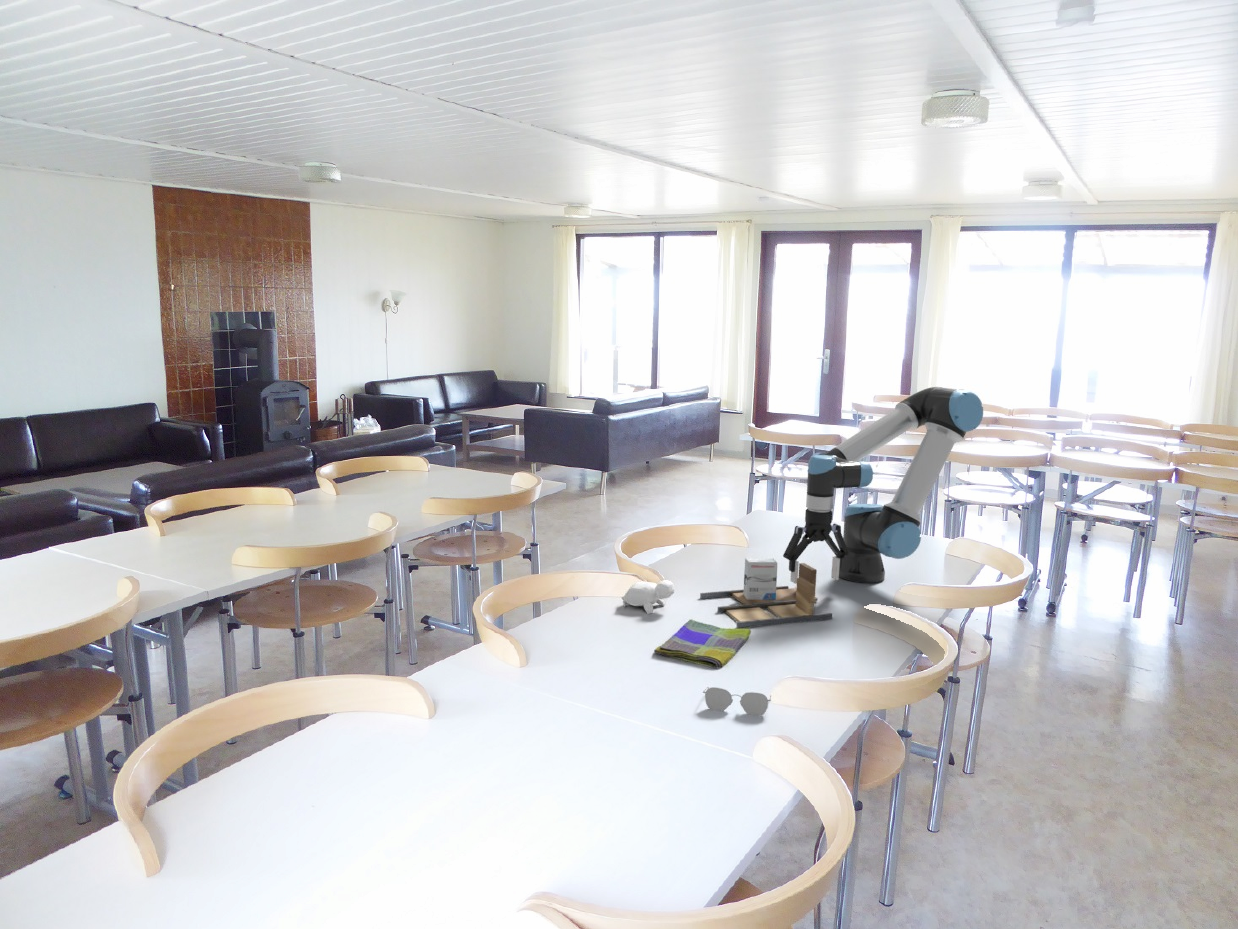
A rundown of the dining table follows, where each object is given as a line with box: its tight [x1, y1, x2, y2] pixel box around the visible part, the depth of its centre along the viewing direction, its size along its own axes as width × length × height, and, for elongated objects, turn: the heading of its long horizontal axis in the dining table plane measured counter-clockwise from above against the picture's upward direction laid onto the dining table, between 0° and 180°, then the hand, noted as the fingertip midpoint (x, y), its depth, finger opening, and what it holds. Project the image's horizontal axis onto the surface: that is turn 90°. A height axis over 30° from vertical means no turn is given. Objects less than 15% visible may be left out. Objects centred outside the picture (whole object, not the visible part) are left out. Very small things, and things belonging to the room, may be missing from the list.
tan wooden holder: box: [731, 562, 818, 605], centre depth 242 cm, size 22×10×9 cm, turn 108°
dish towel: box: [653, 618, 752, 669], centre depth 208 cm, size 18×24×3 cm
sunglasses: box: [702, 686, 772, 717], centre depth 177 cm, size 14×8×5 cm, turn 76°
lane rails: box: [699, 585, 833, 629], centre depth 235 cm, size 28×25×2 cm
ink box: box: [743, 557, 778, 599], centre depth 241 cm, size 8×5×12 cm, turn 93°
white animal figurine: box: [621, 579, 676, 615], centre depth 233 cm, size 8×8×15 cm
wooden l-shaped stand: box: [725, 578, 816, 623], centre depth 229 cm, size 22×10×9 cm, turn 108°
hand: (814, 580), depth 246 cm, fingers open, 13 cm apart
